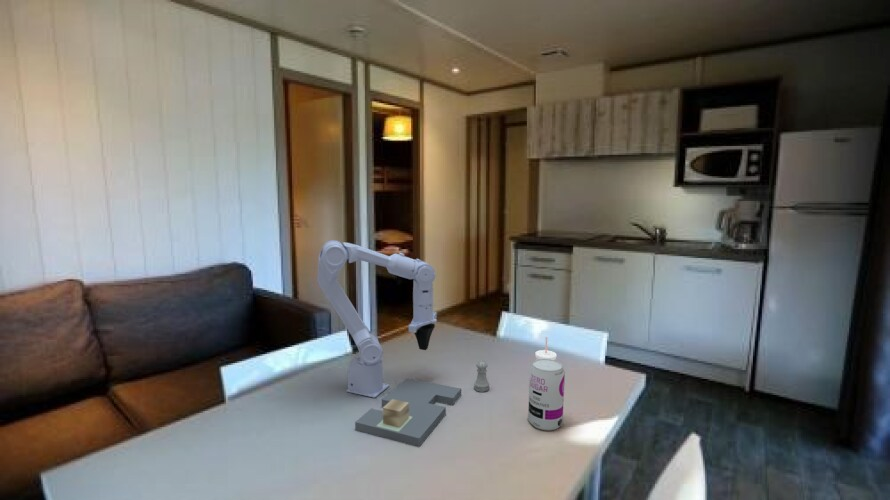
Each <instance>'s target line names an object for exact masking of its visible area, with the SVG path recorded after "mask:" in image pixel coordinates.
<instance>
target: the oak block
mask: <svg viewBox="0 0 890 500" xmlns="http://www.w3.org/2000/svg"><path fill="white" fill-rule="evenodd" d="M382 411H383V424H387V425H391V426H395V427H399V428H400V427H401V426H402V425H403V424H404V423H405V422H406V421H407V420H408V419H409V403H408V402H404V401H399V400H394V399H392V400H391V401H390V402H389V403H387V404H386V405H385V406H384V407H382Z"/></svg>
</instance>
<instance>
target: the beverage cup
mask: <svg viewBox="0 0 890 500" xmlns="http://www.w3.org/2000/svg"><path fill="white" fill-rule="evenodd" d="M544 345H545V348H544V349H540V350H537V351H535V352H534V353H535V359H536V360H539V359H550V360H555V361H556V359H557V353H556V352H555V351H552V350H548V337H547V336H546V337H545V344H544Z"/></svg>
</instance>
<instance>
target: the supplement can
mask: <svg viewBox="0 0 890 500" xmlns="http://www.w3.org/2000/svg"><path fill="white" fill-rule="evenodd" d="M565 373H566V372H565V369H564V367H563V364H562V363H561V362H559V361H557V360H556V359H555V360H550V359H539V360H534V361H533V362H532V365H531V366H530V368H529V379H528V381H529V382H528V383H529V384H528V413H527V414H528V415H527V419H528V421H529V423H530V424H531V425H532V426H533V427H535V428H536V429H538V430H543V431H549V432H550V431H555V430H557V429H559V428H560V427H561V426H562V425H563V423H564V422H563V420H564V399H565V398H564V397H565V396H564V395H565V377H566V376H565Z"/></svg>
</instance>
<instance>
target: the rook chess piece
mask: <svg viewBox="0 0 890 500" xmlns="http://www.w3.org/2000/svg"><path fill="white" fill-rule="evenodd" d="M475 366H476V368H477V369H476V371H477V375H476V379H475V381H474V386H473V389H474V390H475V391H476V392H479V393H485V392H488V391H489V389H490V383H489V380H488V377H487V368H488V364H487V361H486V360H478V361H477V363H476V364H475Z"/></svg>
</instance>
